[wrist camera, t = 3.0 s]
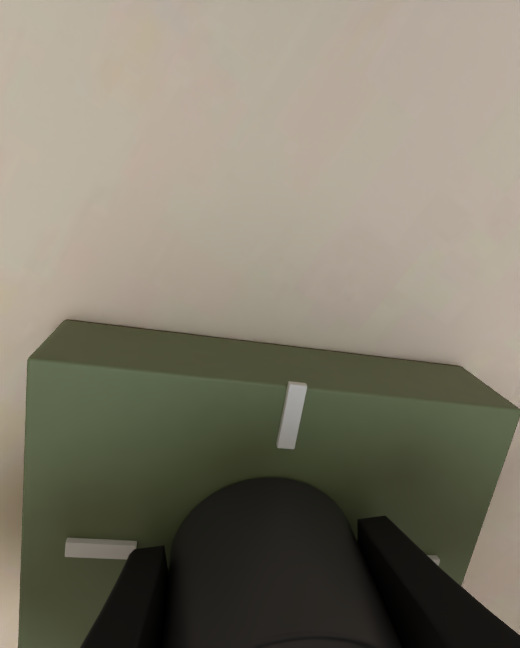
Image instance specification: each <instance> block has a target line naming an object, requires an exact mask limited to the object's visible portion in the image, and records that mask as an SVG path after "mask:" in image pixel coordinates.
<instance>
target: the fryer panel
mask: <svg viewBox="0 0 520 648" xmlns="http://www.w3.org/2000/svg"><path fill="white" fill-rule="evenodd" d="M519 418H520V409H519V408H518V407H516V406H515V405H514V404H512V403H511V402H509V401H508V400H507V399H505V398H504V397H503V396H501V395H500V394H498V393H497V392H496V391H494V390H493V389H492V388H490V387H489V386H487V385H486V384H485V383H483V382H482V381H480V380H479V379H478V378H476V377H475V376H474V375H472V374H471V373H469V372H468V371H467V370H465V369H464V368H463V367H459V366H451V365H442V364H434V363H425V362H417V361H408V360H400V359H391V358H383V357H374V356H366V355H358V354H349V353H341V352H332V351H324V350H315V349H307V348H298V347H290V346H281V345H273V344H265V343H256V342H248V341H239V340H231V339H222V338H214V337H205V336H197V335H188V334H180V333H172V332H163V331H155V330H146V329H138V328H129V327H121V326H112V325H104V324H95V323H87V322H79V321H70V320H65V321H64V322H63V323H62V324H61V325H60V326H59V327H58V328H57V329H56V330H55V331H54V332H53V333H52V334H51V335H50V336H49V337H48V338H47V339H46V340H45V341H44V342H43V343H42V344H41V346H40V347H39V348H38V349H37V350H36V351H35V352H34V353H33V354H32V355H31V356H30V357H29V358H28V360H27V388H26V419H25V450H24V482H23V513H22V544H21V575H20V607H19V638H18V648H80V647H81V645H82V643H83V641H84V640H85V638H86V636H87V634H88V633H89V631H90V629H91V628H92V626H93V624H94V622H95V621H96V619H97V617H98V615H99V614H100V612H101V610H102V608H103V606H104V604H105V602H106V601H107V599H108V597H109V595H110V593H111V591H112V589H113V587H114V585H115V583H116V581H117V579H118V577H119V575H120V573H121V571H122V569H123V567H124V565H125V563H126V561H127V558H128V556H129V554H130V553H131V552H132V551H133V550H134V549H140V548H147V547H155V546H162V545H164V546H165V553H166V560H167V566H168V572H169V560H170V551H171V547H172V543H173V540H174V537H175V535H176V533H177V531H178V529H179V527H180V526H181V524H182V523H183V521H184V520H185V518H186V517H187V516H188V515H189V514H190V512H191V511H192V510H193V509H194V508H195V507H196V506H197V505H198V504H199V503H201V502H202V501H203V500H204V499H206V498H207V497H209V496H210V495H211V494H213V493H215V492H217V491H219V490H221V489H222V488H225V487H227V486H230V485H232V484H235V483H238V482H242V481H245V480H250V479H256V478H268V477H274V478H286V479H292V480H296V481H300V482H303V483H306V484H308V485H311V486H313V487H315V488H317V489H318V490H320V491H322V492H323V493H325V494H326V495H328V496H329V497H330V498H331V499H332V500H333V501H335V502H336V504H337V505H338V506H339V507H340V508H341V509H342V511H343V513H344V514H345V516H346V517H347V519H348V522H349V524H350V526H351V529H352V531H353V533H354V536H355V538H356V540H357V519H363V518H370V517H378V516H387V517H388V518H389V519H390V520H391V521H392V522H393V523H394V524H395V525H396V526H397V527H398V528H399V529H400V530H401V531H402V532H403V533H405V534H406V535H407V536H408V537H409V538H410V539H411V540H412V541H413V542H414V543H415V544H416V545H417V546H418V547H419V548H420V549H421V550H422V551H423V552H424V553H425V554H426V555H427V556H428V557H430V558H431V559H432V560H433V561H434V562H435V563H436V564H437V565H438V566H439V567H440V568H441V569H442V570H443V571H445V572H446V573H447V574H448V575H449V576H450V577H451V578H452V579H453V580H455V581H456V582H457V583H458V584H459V585H460V586H461V585H462V582H463V579H464V576H465V573H466V571H467V568H468V565H469V562H470V559H471V556H472V553H473V550H474V547H475V545H476V542H477V539H478V536H479V533H480V530H481V527H482V524H483V521H484V519H485V516H486V513H487V510H488V507H489V504H490V501H491V498H492V496H493V493H494V490H495V487H496V484H497V481H498V478H499V475H500V472H501V470H502V467H503V464H504V461H505V458H506V455H507V452H508V449H509V447H510V444H511V441H512V438H513V435H514V432H515V429H516V426H517V423H518V421H519Z"/></svg>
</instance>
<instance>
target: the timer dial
mask: <svg viewBox="0 0 520 648" xmlns="http://www.w3.org/2000/svg"><path fill="white" fill-rule="evenodd" d="M162 648H402V645H401V643H400V641H399V638H398V636H397V634H396V631H395V629H394V627H393V624H392V622H391V620H390V617H389V615H388V613H387V610H386V608H385V606H384V603H383V601H382V599H381V596H380V594H379V592H378V589H377V587H376V585H375V582H374V580H373V578H372V575H371V573H370V571H369V568H368V566H367V564H366V561H365V559H364V557H363V554H362V552H361V550H360V547H359V545H358V543H357V540H356V538H355V536H354V533H353V531H352V529H351V526H350V524H349V522H348V519H347V517H346V516H345V514H344V513H343V511H342V509H341V508H340V507H339V506H338V505H337V504H336V502H335V501H333V500H332V499H331V498H330V497H329V496H328V495H326V494H325V493H323V492H322V491H320V490H318V489H317V488H315V487H313V486H311V485H308V484H306V483H303V482H300V481H296V480H292V479H286V478H274V477H268V478H256V479H250V480H245V481H242V482H238V483H235V484H232V485H230V486H227V487H225V488H222V489H221V490H219V491H217V492H215V493H213V494H211V495H210V496H209V497H207V498H206V499H204V500H203V501H202V502H201V503H199V504H198V505H197V506H196V507H195V508H194V509H193V510H192V511H191V512H190V514H189V515H188V516H187V517H186V518H185V520H184V521H183V523H182V524H181V526H180V527H179V529H178V531H177V533H176V535H175V537H174V540H173V543H172V547H171V551H170V560H169V572H168V585H167V597H166V609H165V621H164V632H163V645H162Z"/></svg>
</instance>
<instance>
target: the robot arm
mask: <svg viewBox="0 0 520 648" xmlns="http://www.w3.org/2000/svg"><path fill="white" fill-rule="evenodd" d="M357 543H358V545H359V547H360V550H361V552H362V554H363V557H364V559H365V561H366V564H367V566H368V568H369V571H370V573H371V575H372V578H373V580H374V582H375V585H376V587H377V589H378V592H379V594H380V596H381V599H382V601H383V603H384V606H385V608H386V610H387V613H388V615H389V617H390V620H391V622H392V624H393V627H394V629H395V631H396V634H397V636H398V638H399V641H400V643H401V645H402V648H520V635H519V634H517V633H516V632H515V631H514V630H512V629H511V628H510V627H509V626H507V625H506V624H505V623H504V622H503V621H501V620H500V619H499V618H498V617H496V616H495V615H494V614H493V613H491V612H490V611H489V610H488V609H487V608H486V607H484V606H483V605H482V604H481V603H480V602H478V601H477V600H476V599H475V598H474V597H473V596H472V595H470V594H469V593H468V592H467V591H466V590H465V589H464V588H463V587H461V586H460V585H459V584H458V583H457V582H456V581H455V580H453V579H452V578H451V577H450V576H449V575H448V574H447V573H446V572H445V571H443V570H442V569H441V568H440V567H439V566H438V565H437V564H436V563H435V562H434V561H433V560H432V559H431V558H430V557H428V556H427V555H426V554H425V553H424V552H423V551H422V550H421V549H420V548H419V547H418V546H417V545H416V544H415V543H414V542H413V541H412V540H411V539H410V538H409V537H408V536H407V535H406V534H405V533H403V532H402V531H401V530H400V529H399V528H398V527H397V526H396V525H395V524H394V523H393V522H392V521H391V520H390V519H389V518H388V517H387V516H378V517H370V518H363V519H357ZM167 585H168V566H167V560H166V553H165V546H164V545H162V546H155V547H147V548H140V549H134V550H133V551H132V552H131V553H130V554H129V556H128V558H127V561H126V563H125V565H124V567H123V569H122V571H121V573H120V575H119V577H118V579H117V581H116V583H115V585H114V587H113V589H112V591H111V593H110V595H109V597H108V599H107V601H106V602H105V604H104V606H103V608H102V610H101V612H100V614H99V615H98V617H97V619H96V621H95V622H94V624H93V626H92V628H91V629H90V631H89V633H88V634H87V636H86V638H85V640H84V641H83V643H82V645H81V647H80V648H162V645H163V632H164V621H165V609H166V597H167Z"/></svg>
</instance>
